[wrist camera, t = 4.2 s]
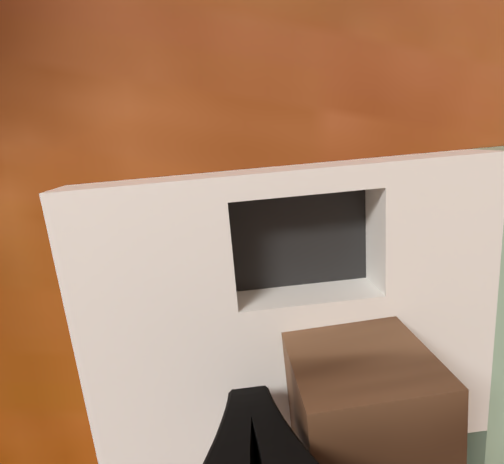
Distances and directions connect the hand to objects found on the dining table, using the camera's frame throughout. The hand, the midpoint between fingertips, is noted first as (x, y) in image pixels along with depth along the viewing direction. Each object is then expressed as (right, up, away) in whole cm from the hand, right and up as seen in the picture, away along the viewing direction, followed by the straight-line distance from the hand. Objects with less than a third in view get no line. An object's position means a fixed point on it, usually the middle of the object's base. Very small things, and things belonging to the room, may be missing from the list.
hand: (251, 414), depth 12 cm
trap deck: (+4, +1, +3) cm, 5 cm away
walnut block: (+3, +1, +1) cm, 4 cm away
